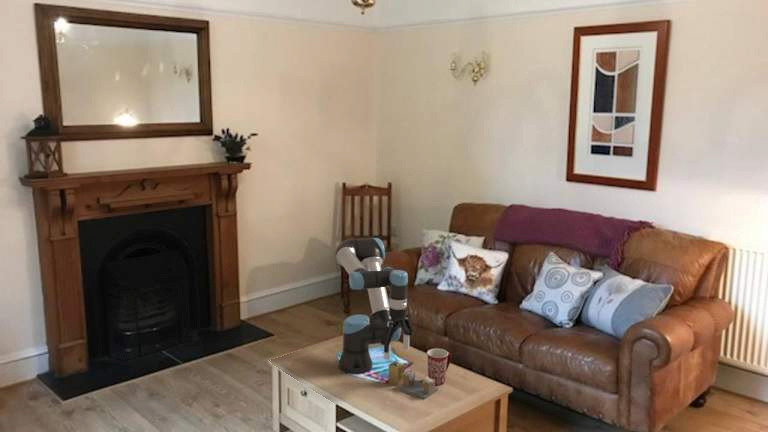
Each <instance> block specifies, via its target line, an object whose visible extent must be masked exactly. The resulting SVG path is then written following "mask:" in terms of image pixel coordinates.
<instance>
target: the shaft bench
mask: <svg viewBox="0 0 768 432" xmlns="http://www.w3.org/2000/svg"><path fill="white" fill-rule="evenodd" d="M398 389H399V390H400V391H402V392H404V393H408V394H410V395H412V396H415V397H418V398H420V399H423V400H426V399H428V398H429V397H430V396H432V395H434V394H435V393H436V392H437V391H439V388H438V387H436V385H435V380H434V379H432V378H429V377H428V376H425V377H424V378H423V380H422V381H419V380H416V372H415V371H411V370H408V371H405V372H404V377H403V382H402V385H401V386H399V388H398Z"/></svg>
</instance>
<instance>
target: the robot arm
mask: <svg viewBox="0 0 768 432" xmlns="http://www.w3.org/2000/svg"><path fill="white" fill-rule="evenodd" d="M334 256H335V257H334V258H335V260H336V262H337V263H338V264H339V265H340V266H342V267H343V268H344V270H345V271H346V273H348V275H349V276H348V284H349V288H350V289H351V290H359V291H361V290H367V293H368V299H369V303H370V308H371V313H370V314H369V316H368V315H366V314H353V315H350V316H347V318H345V319H344V321H343V324H342V325H343V326H342V352H341V355H340V358H339V360H338V368H339V369H340V370H341V371H342V372H345V373H349V374H364V373H366V372H367V373H368V372H369V371H371V370H372V368H373V360H372V358H371V355H370V352H369V348H370V347H369V346H370V345H377V344H380V345H382V346H383V353H384V354H383V359H385V360H388V361H390V360H391V355H392V354H391V349H392V346H391V345H392V344H391V343H395V342H397V341H399V340H400V337H401V335H402V331H403V333H404V334H403V336H402V337H403V339H402V341H403V342H402V344H403V345H402V349H404V350H407V351H409V350H410V340H411V339H410V338H411V336H412V335H413V332H414V329H413V325H412V322H411V319H410V314H408V308H407V307H408V305H407V304H408V286H409V285H408V284H409V283H408V282H409V276H408V275H409V274H408V272H407V271H405V270H402V269H401V270H400V269H395V268H393V267H390V266H387V267H384V268H383V269H382V264H383V263H384V260H385V258H386V249H385V246H384V242H383V241H382V240H381V238H378V237H367V238H348V239H346V240H343V241H342V242H340V244H338V245H337V247H336V249H335V253H334ZM386 288H388V289H389V297H388V293H387V289H386Z"/></svg>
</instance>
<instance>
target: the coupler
mask: <svg viewBox="0 0 768 432" xmlns="http://www.w3.org/2000/svg"><path fill="white" fill-rule="evenodd" d="M404 374H405V363H401V362H398V361H395V360H394V361H392V362H391V363H389V364H388V374H387V376H388V377H387V382H388V383H391V384H393V385H396V386H398V385H400V384H403V377H404Z"/></svg>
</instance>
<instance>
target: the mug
mask: <svg viewBox="0 0 768 432" xmlns="http://www.w3.org/2000/svg"><path fill="white" fill-rule="evenodd" d="M426 354H427V374H428V375H427V377H429V378H432V379H434V380H435V386H441V385H444V384H445V382H446V375H447V370H448V368H449V367H450V364H451V360H452V354H451V353H450V352H448V351H447V350H446V349H443V348H432V349H428V350H427V352H426Z"/></svg>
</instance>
